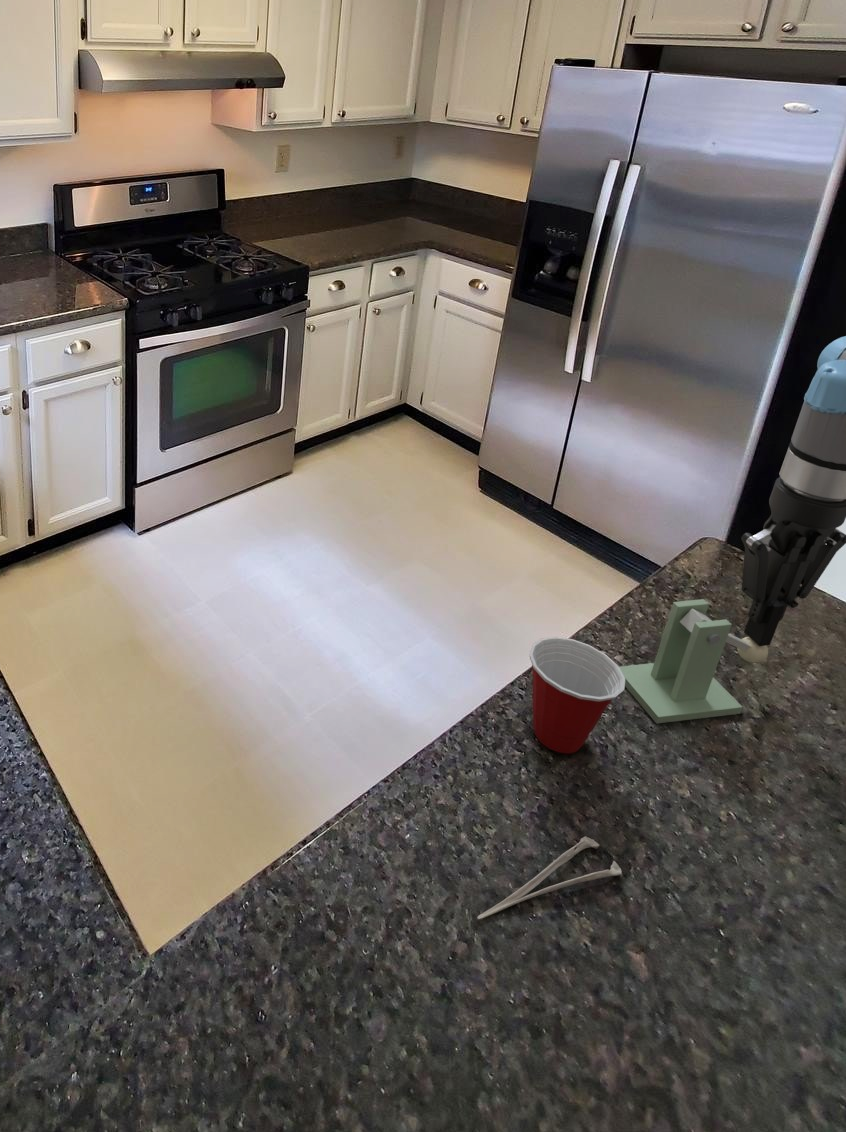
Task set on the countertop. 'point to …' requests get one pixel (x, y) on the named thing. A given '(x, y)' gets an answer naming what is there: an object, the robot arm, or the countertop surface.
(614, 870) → the lower jaw bone
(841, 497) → the robot arm
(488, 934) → the countertop surface
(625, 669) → the bracket
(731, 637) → the lever
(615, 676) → the plastic cup
